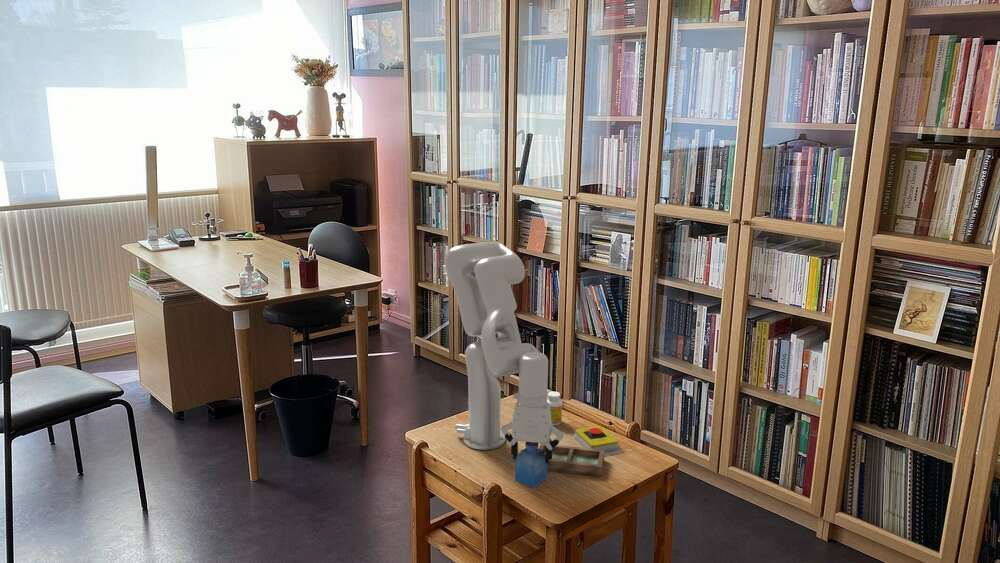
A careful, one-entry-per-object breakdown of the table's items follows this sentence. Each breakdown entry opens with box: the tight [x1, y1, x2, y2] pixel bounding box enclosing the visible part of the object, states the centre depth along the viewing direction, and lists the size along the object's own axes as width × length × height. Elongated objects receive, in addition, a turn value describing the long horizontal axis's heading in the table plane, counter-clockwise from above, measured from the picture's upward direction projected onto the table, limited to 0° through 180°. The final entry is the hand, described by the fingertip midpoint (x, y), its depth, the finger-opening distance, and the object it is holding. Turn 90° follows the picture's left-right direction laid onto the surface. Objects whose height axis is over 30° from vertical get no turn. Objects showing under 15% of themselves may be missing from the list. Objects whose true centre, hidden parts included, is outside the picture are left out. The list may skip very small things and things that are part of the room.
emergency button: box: [572, 425, 622, 457], centre depth 215 cm, size 9×4×15 cm
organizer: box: [538, 443, 605, 478], centre depth 203 cm, size 18×10×3 cm, turn 77°
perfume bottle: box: [514, 442, 548, 489], centre depth 194 cm, size 6×6×12 cm
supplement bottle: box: [547, 391, 563, 426], centre depth 229 cm, size 5×5×10 cm
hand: (531, 459), depth 194 cm, fingers closed on perfume bottle, 8 cm apart
